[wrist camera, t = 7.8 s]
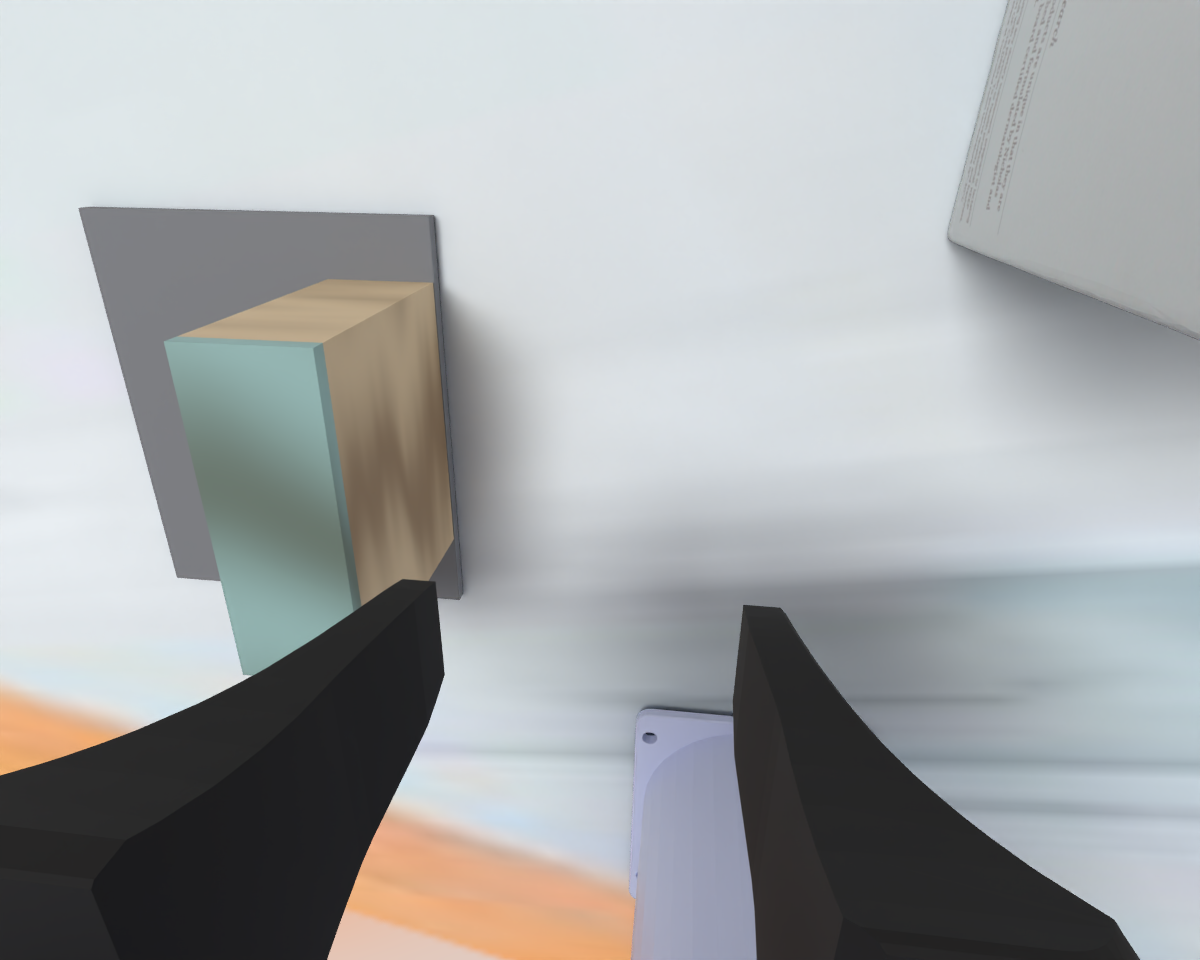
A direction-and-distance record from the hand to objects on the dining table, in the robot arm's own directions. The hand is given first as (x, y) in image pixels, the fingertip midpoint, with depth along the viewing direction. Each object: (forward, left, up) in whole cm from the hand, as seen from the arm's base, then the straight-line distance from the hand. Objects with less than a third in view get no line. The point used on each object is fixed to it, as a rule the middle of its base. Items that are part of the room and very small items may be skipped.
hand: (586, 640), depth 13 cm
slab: (0, +7, -10) cm, 12 cm away
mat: (0, +11, -10) cm, 14 cm away
